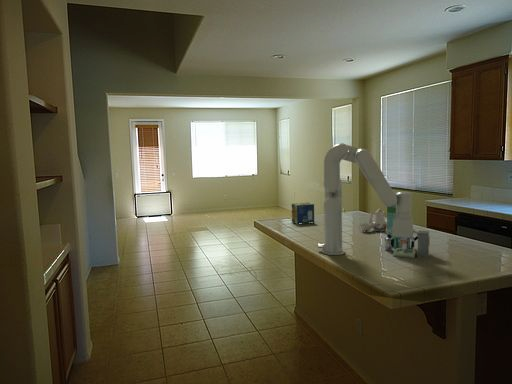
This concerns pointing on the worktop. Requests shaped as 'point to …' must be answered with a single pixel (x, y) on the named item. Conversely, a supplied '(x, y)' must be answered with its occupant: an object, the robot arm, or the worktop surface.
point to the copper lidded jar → (404, 246)
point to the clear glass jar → (388, 244)
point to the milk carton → (390, 225)
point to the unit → (423, 244)
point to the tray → (407, 255)
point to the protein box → (302, 213)
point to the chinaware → (375, 222)
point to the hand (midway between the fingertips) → (402, 247)
